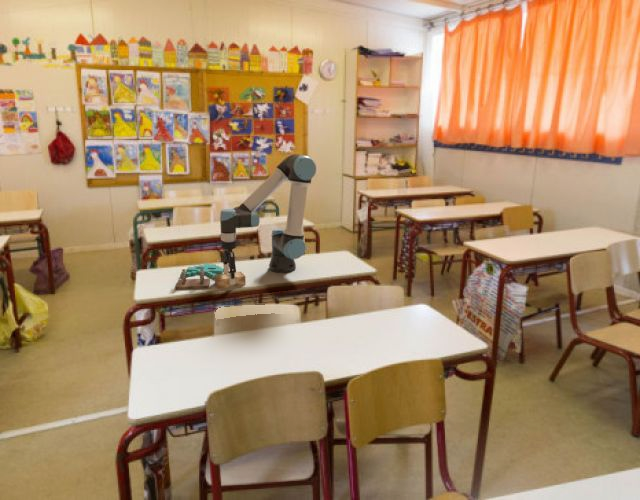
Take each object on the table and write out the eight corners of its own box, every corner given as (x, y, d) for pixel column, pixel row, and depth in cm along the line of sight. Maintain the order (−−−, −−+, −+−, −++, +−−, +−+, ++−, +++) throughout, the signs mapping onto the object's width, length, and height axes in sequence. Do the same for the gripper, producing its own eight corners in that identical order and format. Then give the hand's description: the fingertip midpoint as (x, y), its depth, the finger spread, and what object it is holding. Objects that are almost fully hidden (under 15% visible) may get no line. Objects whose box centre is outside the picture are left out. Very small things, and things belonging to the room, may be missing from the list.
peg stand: (210, 281, 254) (209, 266, 252) (208, 288, 244) (207, 273, 242) (178, 282, 252) (177, 267, 250) (175, 289, 242) (174, 274, 239)
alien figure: (216, 280, 257) (227, 268, 276) (216, 276, 257) (227, 264, 276) (180, 278, 259) (193, 266, 278) (180, 274, 258) (193, 263, 278)
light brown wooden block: (241, 280, 257) (240, 271, 256) (245, 285, 250) (245, 276, 249) (214, 284, 251) (214, 274, 250) (218, 289, 244) (218, 279, 243)
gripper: (215, 235, 254) (217, 273, 259) (226, 247, 232) (227, 289, 237) (230, 234, 256) (231, 272, 262) (242, 245, 234) (242, 287, 240)
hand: (229, 280), depth 250 cm, fingers open, 13 cm apart
